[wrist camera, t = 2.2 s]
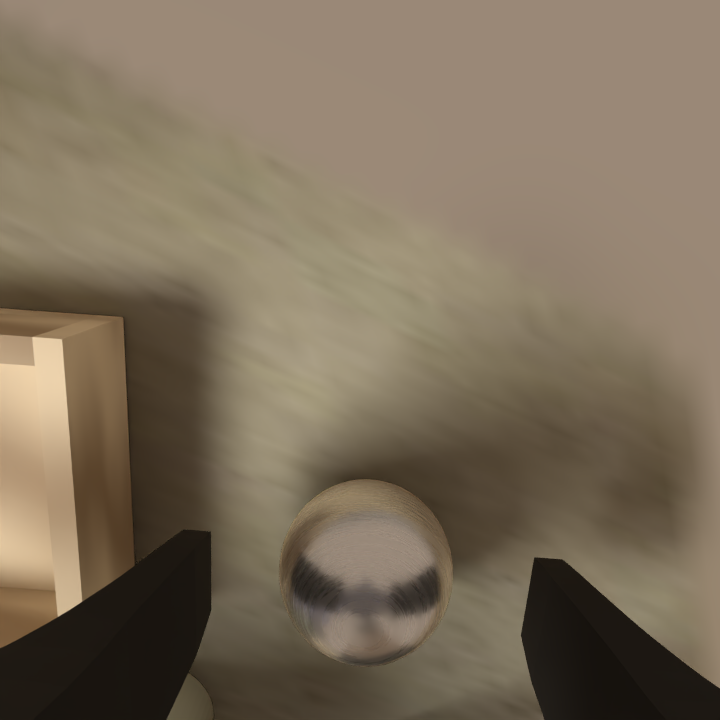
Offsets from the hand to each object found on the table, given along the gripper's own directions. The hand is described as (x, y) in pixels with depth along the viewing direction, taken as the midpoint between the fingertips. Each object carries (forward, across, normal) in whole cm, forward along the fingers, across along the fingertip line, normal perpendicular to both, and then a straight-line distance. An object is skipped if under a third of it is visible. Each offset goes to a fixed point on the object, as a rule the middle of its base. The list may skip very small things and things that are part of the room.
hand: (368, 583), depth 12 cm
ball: (+1, 0, 0) cm, 1 cm away
